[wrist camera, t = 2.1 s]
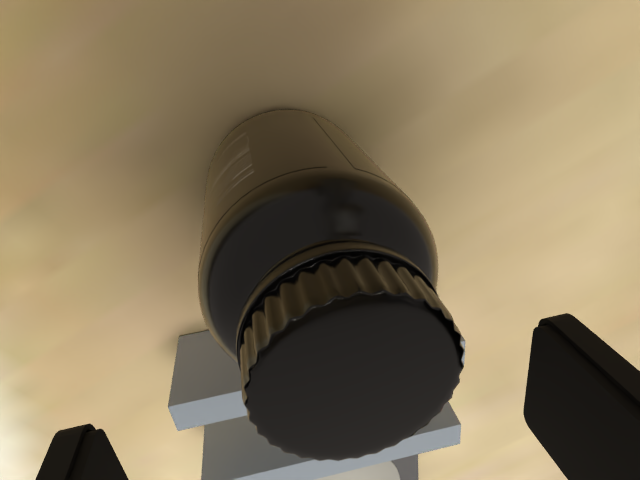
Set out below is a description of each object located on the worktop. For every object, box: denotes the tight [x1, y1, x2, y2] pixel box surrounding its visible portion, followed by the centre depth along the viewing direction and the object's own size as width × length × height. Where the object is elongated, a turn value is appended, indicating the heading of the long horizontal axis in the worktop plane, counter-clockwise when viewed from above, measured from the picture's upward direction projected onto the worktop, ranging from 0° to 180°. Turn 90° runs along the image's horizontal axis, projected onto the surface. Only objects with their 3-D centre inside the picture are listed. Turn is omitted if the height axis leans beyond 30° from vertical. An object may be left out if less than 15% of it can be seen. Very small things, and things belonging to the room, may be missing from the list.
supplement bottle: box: [198, 109, 465, 461], centre depth 14 cm, size 7×7×12 cm
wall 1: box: [168, 330, 465, 431], centre depth 21 cm, size 2×13×4 cm, turn 97°
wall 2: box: [201, 402, 461, 480], centre depth 24 cm, size 2×13×4 cm, turn 97°
